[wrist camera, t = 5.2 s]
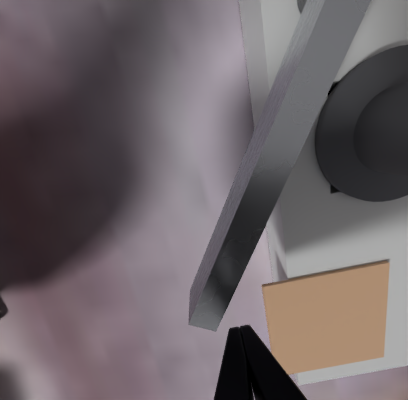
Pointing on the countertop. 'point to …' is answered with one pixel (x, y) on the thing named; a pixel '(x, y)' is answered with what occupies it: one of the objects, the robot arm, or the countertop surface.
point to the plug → (367, 129)
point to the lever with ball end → (274, 149)
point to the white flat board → (330, 226)
